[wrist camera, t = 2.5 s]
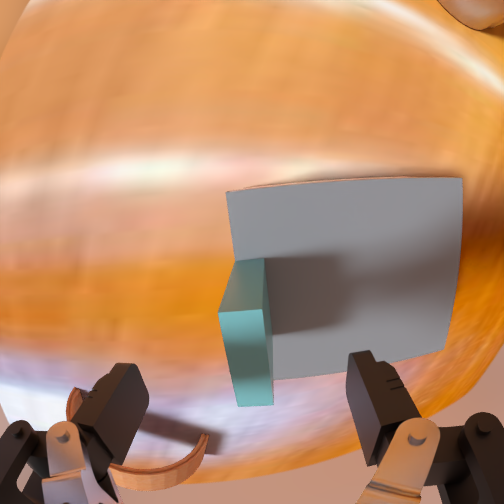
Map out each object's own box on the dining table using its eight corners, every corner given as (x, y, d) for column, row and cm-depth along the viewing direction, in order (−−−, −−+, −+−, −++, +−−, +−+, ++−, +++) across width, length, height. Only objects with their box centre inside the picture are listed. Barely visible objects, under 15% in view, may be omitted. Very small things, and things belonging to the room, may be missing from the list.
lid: (445, 176, 16) (528, 188, 8) (432, 336, 19) (481, 397, 11) (230, 189, 17) (199, 207, 9) (255, 364, 20) (248, 450, 13)
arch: (204, 453, 33) (192, 509, 23) (80, 409, 32) (52, 453, 23) (209, 433, 31) (196, 495, 22) (74, 385, 31) (40, 431, 21)
